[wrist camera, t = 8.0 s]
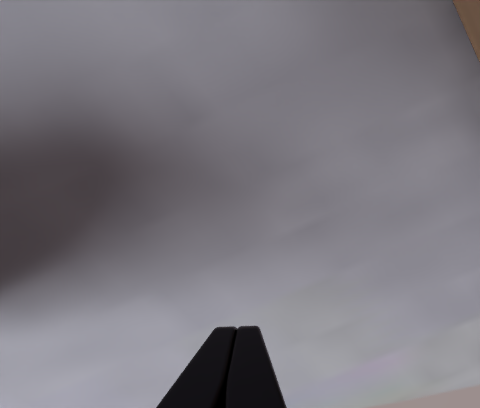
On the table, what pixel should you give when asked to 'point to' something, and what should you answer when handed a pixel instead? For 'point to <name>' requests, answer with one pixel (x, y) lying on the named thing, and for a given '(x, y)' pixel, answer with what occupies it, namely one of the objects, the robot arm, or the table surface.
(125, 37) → the table surface
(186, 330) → the table surface
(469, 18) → the switch panel
